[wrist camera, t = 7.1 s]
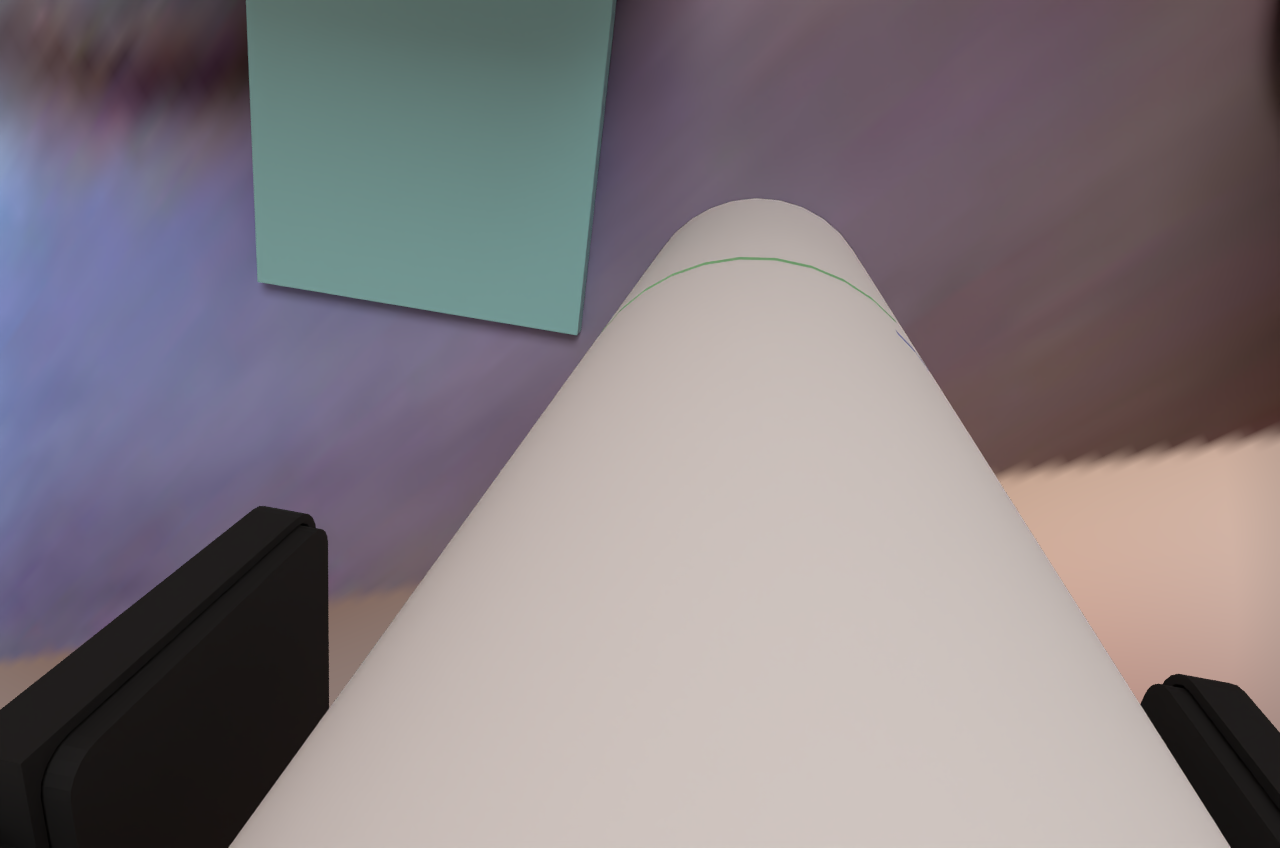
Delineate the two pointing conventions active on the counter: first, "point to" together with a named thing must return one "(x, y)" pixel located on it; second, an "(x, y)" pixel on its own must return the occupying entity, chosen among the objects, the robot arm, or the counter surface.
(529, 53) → the teal pad
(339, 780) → the cylindrical container
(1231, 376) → the counter surface
